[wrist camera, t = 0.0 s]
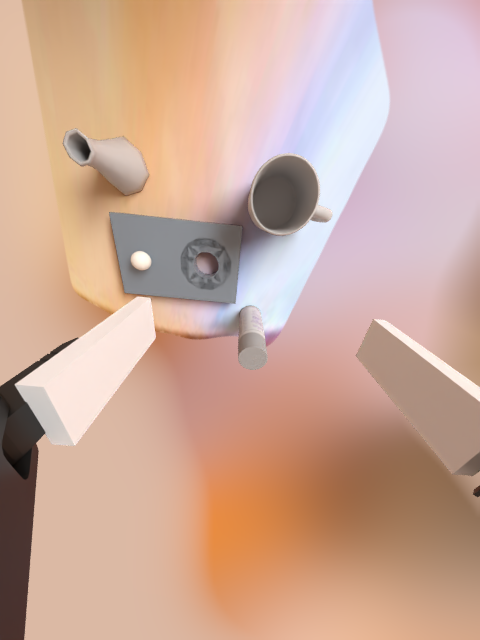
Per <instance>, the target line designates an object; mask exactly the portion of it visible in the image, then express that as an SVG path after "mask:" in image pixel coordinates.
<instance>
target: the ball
mask: <svg viewBox="0 0 480 640" xmlns="http://www.w3.org/2000/svg"><path fill="white" fill-rule="evenodd" d="M131 263H132V265H133V266H134V267H135V268H136V269H138V270H146V269H148V268H149V267H150V266H151V258H150V256H149V255H148V254H147V253H145V252H143V251H137V252H135V253H133V254H132V256H131Z"/></svg>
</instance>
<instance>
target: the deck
mask: <svg viewBox="0 0 480 640" xmlns="http://www.w3.org/2000/svg"><path fill="white" fill-rule="evenodd" d="M109 215H110V220H111V225H112V230H113V235H114V240H115V245H116V251H117V256H118V261H119V266H120V271H121V276H122V281H123V286H124V292H125V293H131V294H141V295H152V296H162V297H172V298H183V299H193V300H204V301H214V302H224V303H235V302H236V292H237V281H238V270H239V259H240V248H241V237H242V226H238V225H228V224H219V223H210V222H200V221H191V220H182V219H172V218H163V217H154V216H144V215H135V214H126V213H115V212H109ZM137 251H143V252H145V253H147V254H148V255H149V256H150V258H151V266H150V267H149V268H148V269H146V270H138V269H136V268H135V267H134V266H133V265H132V263H131V256H132V254H133V253H135V252H137ZM201 252H209V253H211V254H212V255H214V256H215V257H216V259H217V261H218V263H219V266H218V271H217V272H216V273H213V274H211V275H210V274H204V273H203V272H201V271H200V270H199V268H198V266H197V265H196V258H197V256H198V254H199V253H201Z"/></svg>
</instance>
